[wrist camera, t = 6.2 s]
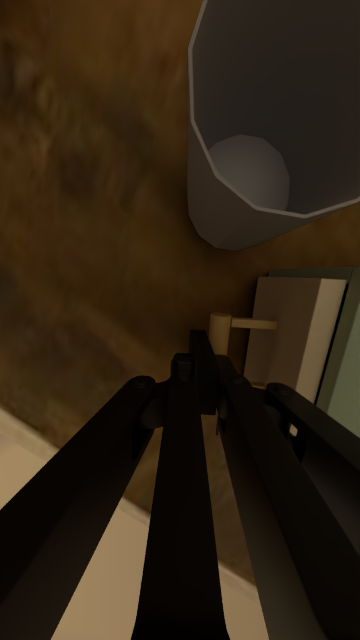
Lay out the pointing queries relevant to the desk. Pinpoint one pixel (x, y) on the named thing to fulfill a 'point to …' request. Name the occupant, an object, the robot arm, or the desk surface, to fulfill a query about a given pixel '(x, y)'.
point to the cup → (272, 117)
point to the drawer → (287, 332)
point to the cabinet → (340, 349)
